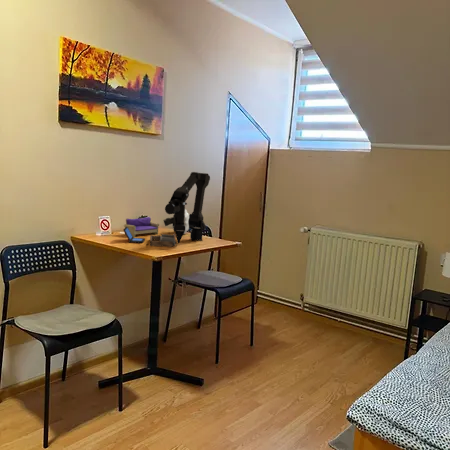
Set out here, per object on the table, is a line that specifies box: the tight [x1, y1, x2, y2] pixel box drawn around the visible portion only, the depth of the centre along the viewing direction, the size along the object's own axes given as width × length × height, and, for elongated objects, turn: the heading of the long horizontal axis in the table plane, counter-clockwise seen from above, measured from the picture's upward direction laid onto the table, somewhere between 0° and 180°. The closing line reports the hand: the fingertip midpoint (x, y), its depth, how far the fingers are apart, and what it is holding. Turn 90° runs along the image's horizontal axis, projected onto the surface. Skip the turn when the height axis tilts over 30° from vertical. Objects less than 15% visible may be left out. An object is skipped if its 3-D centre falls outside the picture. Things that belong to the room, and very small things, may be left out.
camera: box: [183, 208, 190, 235], centre depth 289 cm, size 11×18×16 cm, turn 178°
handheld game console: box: [123, 227, 146, 244], centre depth 253 cm, size 12×11×7 cm
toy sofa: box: [123, 216, 160, 238], centre depth 275 cm, size 21×9×10 cm, turn 143°
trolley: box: [159, 233, 177, 247], centre depth 252 cm, size 8×12×5 cm, turn 9°
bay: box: [149, 235, 174, 248], centre depth 252 cm, size 12×18×2 cm, turn 8°
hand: (177, 241), depth 253 cm, fingers open, 9 cm apart
